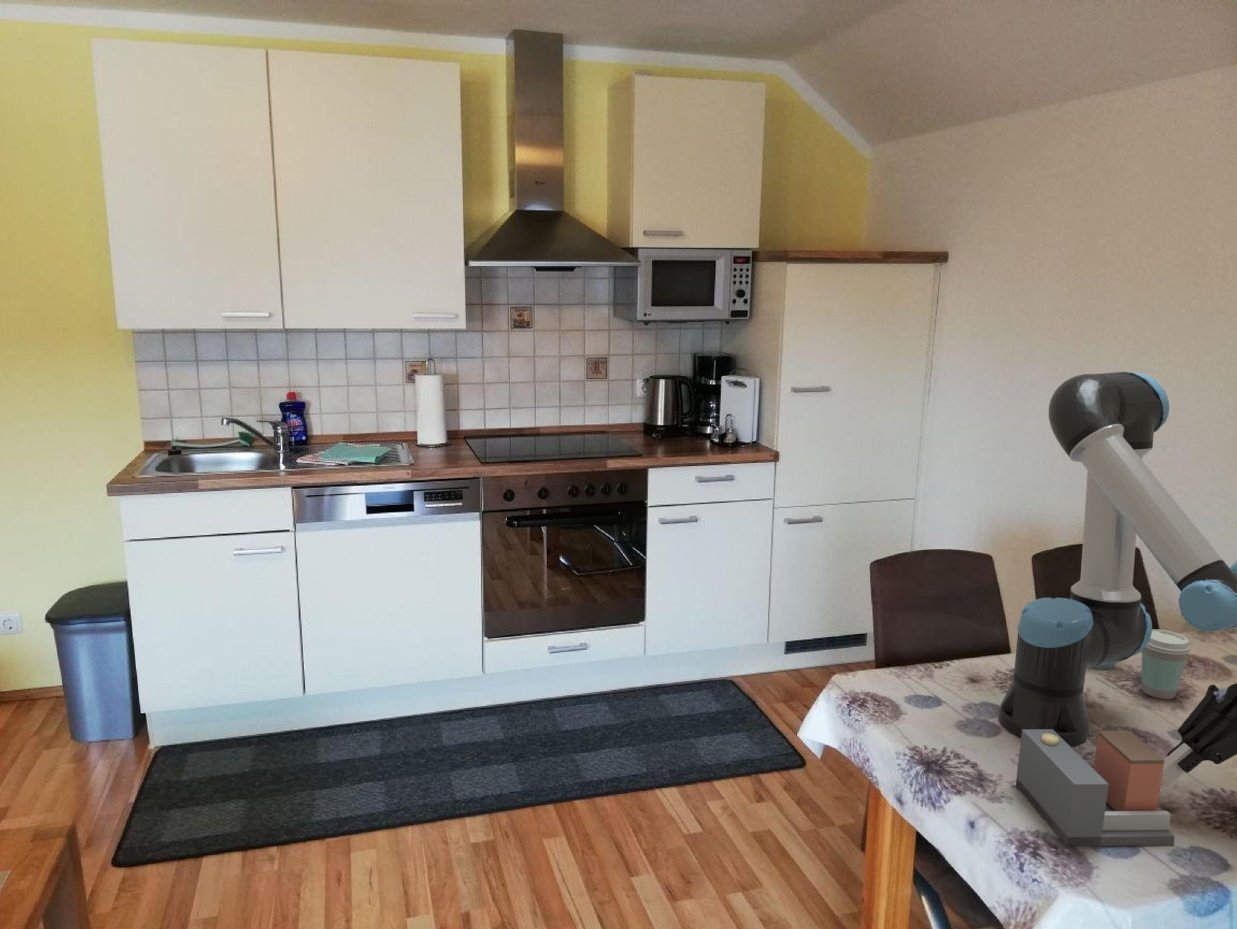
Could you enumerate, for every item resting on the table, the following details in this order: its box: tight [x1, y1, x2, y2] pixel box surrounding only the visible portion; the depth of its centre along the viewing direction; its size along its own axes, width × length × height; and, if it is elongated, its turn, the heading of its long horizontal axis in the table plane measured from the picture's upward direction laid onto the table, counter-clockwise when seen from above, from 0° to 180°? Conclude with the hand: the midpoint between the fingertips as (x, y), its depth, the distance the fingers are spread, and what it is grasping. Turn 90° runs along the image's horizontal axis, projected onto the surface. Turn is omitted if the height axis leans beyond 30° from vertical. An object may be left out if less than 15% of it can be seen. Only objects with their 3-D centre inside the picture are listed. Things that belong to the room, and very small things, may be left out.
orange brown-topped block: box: [1092, 730, 1165, 811], centre depth 139 cm, size 5×9×10 cm, turn 2°
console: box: [1015, 729, 1176, 847], centre depth 139 cm, size 16×16×11 cm
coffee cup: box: [1141, 629, 1191, 700], centre depth 181 cm, size 8×8×12 cm
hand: (1159, 778), depth 140 cm, fingers closed
